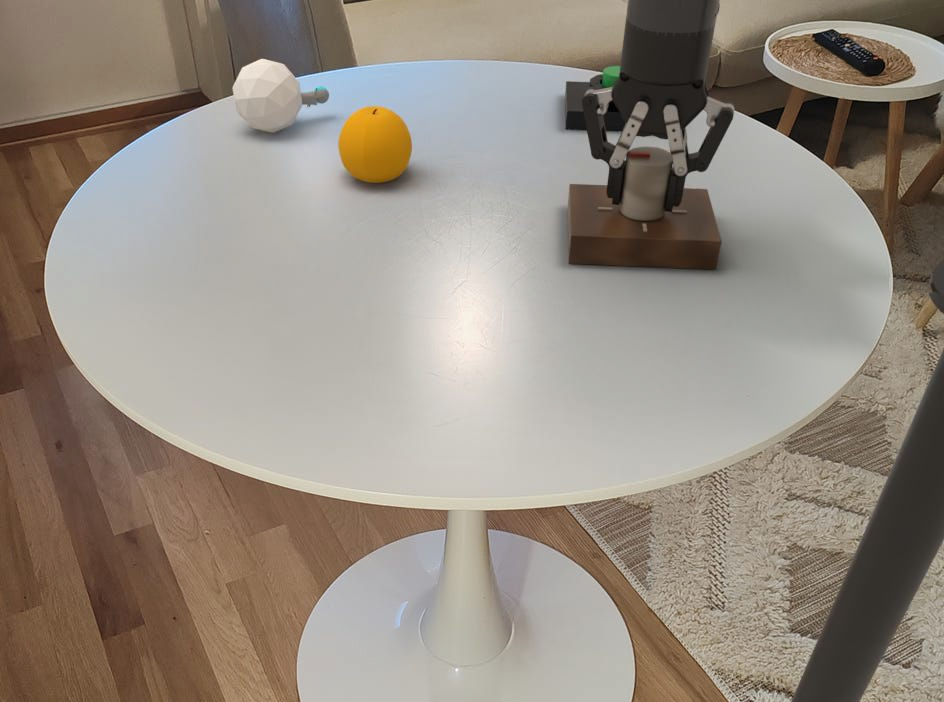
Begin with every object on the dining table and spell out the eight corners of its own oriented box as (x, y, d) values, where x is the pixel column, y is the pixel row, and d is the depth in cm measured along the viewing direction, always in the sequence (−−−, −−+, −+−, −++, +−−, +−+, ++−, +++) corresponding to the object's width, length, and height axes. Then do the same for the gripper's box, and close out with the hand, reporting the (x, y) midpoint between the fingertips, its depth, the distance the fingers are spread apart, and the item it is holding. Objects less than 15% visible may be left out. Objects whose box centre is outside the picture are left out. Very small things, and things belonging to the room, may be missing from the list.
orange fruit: (369, 155, 106) (365, 89, 101) (426, 171, 103) (425, 103, 98) (326, 181, 101) (319, 112, 96) (385, 198, 98) (381, 128, 93)
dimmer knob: (661, 200, 92) (671, 143, 88) (667, 221, 88) (677, 163, 84) (617, 199, 92) (624, 142, 88) (621, 220, 88) (629, 162, 85)
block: (657, 101, 119) (662, 69, 116) (664, 132, 112) (669, 99, 109) (564, 98, 120) (567, 66, 117) (565, 129, 112) (568, 95, 110)
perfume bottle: (215, 91, 111) (304, 83, 117) (241, 150, 110) (329, 139, 116) (229, 45, 104) (323, 40, 110) (256, 107, 103) (349, 99, 109)
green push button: (630, 80, 114) (632, 66, 113) (632, 91, 112) (634, 76, 111) (601, 79, 115) (602, 65, 113) (602, 90, 112) (603, 75, 111)
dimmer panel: (702, 216, 96) (707, 187, 94) (715, 269, 88) (722, 239, 86) (567, 210, 96) (569, 182, 94) (568, 263, 88) (571, 233, 86)
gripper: (580, 20, 77) (563, 212, 88) (756, 36, 74) (715, 232, 85) (594, -4, 82) (576, 180, 93) (759, 10, 79) (720, 197, 91)
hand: (643, 204), depth 89 cm, fingers closed on dimmer knob, 4 cm apart
